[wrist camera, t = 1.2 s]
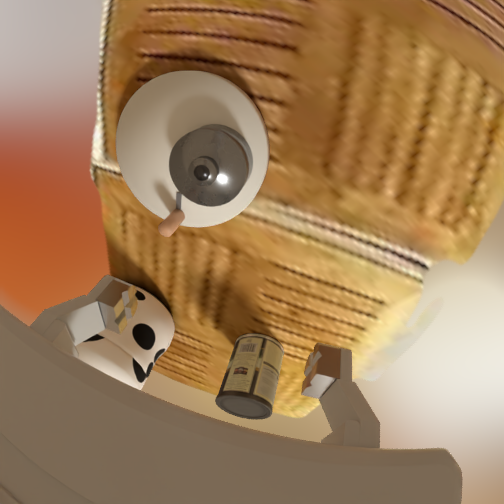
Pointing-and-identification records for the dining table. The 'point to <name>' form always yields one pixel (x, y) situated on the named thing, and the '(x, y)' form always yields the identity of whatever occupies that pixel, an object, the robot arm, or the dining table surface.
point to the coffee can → (251, 377)
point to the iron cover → (211, 165)
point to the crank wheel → (176, 126)
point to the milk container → (132, 343)
